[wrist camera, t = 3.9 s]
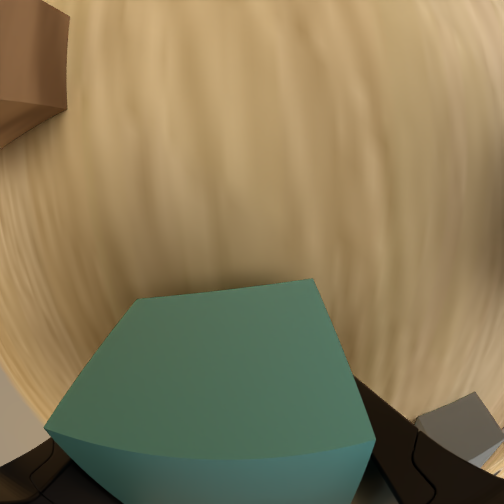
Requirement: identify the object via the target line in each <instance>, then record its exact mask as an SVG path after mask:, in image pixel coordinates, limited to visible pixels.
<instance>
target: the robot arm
mask: <svg viewBox="0 0 504 504" xmlns="http://www.w3.org/2000/svg"><path fill="white" fill-rule="evenodd" d="M353 377H354V380H355V382H356V385H357V388H358V390H359V393H360V396H361V398H362V401H363V404H364V406H365V409H366V412H367V415H368V418H369V420H370V423H371V426H372V429H373V432H374V435H375V438H376V441H375V444H374V447H373V450H372V453H371V456H370V458H369V461H368V464H367V466H366V469H365V472H364V474H363V477H362V479H361V481H360V484H359V486H358V488H357V491H356V493H355V495H354V497H353V500H352V502H351V504H504V479H503V478H500V477H497V476H495V475H493V474H491V473H489V472H487V471H485V470H483V469H481V468H479V467H477V466H475V465H473V464H471V463H469V462H468V461H466V460H464V459H462V458H460V457H459V456H457V455H455V454H454V453H452V452H450V451H449V450H447V449H446V448H444V447H443V446H441V445H440V444H438V443H437V442H436V441H434V440H433V439H432V438H430V437H429V436H428V435H426V434H425V433H424V432H423V431H421V430H420V431H419V428H417V427H416V426H415V425H414V424H412V423H411V422H410V421H409V420H407V419H406V418H405V417H404V416H402V415H401V414H400V413H399V412H397V411H396V410H395V409H394V408H393V407H391V406H390V405H389V404H388V403H386V402H385V401H384V400H383V399H382V398H380V397H379V396H378V395H377V394H376V393H374V392H373V391H372V390H371V389H369V388H368V387H367V386H366V385H365V384H363V383H362V382H361V381H360V380H359V379H358V378H356V377H355V376H354V375H353ZM0 504H124V503H122V502H121V501H120V500H118V499H117V498H116V497H115V496H113V495H112V494H111V493H109V492H108V491H107V490H106V489H105V488H103V487H102V486H101V485H100V484H99V483H97V482H96V481H95V480H94V479H93V478H92V477H91V476H89V475H88V474H87V473H86V472H85V471H84V470H83V469H82V468H81V467H80V466H79V465H78V464H77V463H76V462H75V461H74V460H73V459H72V458H71V457H70V456H69V455H68V454H67V453H66V452H65V451H64V450H63V449H62V448H61V447H60V446H59V445H58V444H57V443H56V442H55V441H54V439H53V438H52V437H50V438H49V439H48V440H46V441H45V442H43V443H42V444H40V445H39V446H37V447H36V448H34V449H32V450H31V451H29V452H27V453H25V454H24V455H22V456H20V457H18V458H16V459H14V460H12V461H11V462H9V463H7V464H5V465H3V466H1V467H0Z"/></svg>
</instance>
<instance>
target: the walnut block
mask: <svg viewBox="0 0 504 504" xmlns="http://www.w3.org/2000/svg"><path fill="white" fill-rule="evenodd" d="M69 20H70V16H68V15H66V14H65V13H63V12H61V11H60V10H58V9H56V8H54V7H53V6H51V5H49V4H47V3H46V2H44V1H42V0H0V149H1V148H3V147H4V146H6V145H7V144H9V143H10V142H12V141H13V140H15V139H16V138H18V137H19V136H21V135H22V134H24V133H25V132H27V131H29V130H30V129H32V128H34V127H35V126H37V125H39V124H40V123H42V122H44V121H46V120H47V119H49V118H51V117H53V116H55V115H57V114H58V113H60V112H62V111H64V110H66V109H67V91H66V64H67V42H68V30H69Z"/></svg>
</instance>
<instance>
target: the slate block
mask: <svg viewBox="0 0 504 504" xmlns="http://www.w3.org/2000/svg"><path fill="white" fill-rule="evenodd" d="M415 426H416V427H417V428H419V431H420V430H421V431H423V432H424V433H425V434H426V435H428V436H429V437H430V438H432V439H433V440H434V441H436V442H437V443H438V444H440V445H441V446H443V447H444V448H446V449H447V450H449V451H450V452H452V453H454V454H455V455H457V456H459V457H460V458H462V459H464V460H466V461H468V462H469V463H471V464H473V465H475V466H477V467H479V468H481V467H482V465H483V464H484V463H485V462H486V461H487V460H488V459H489V458H490V456H491V455H492V454H493V453H494V452H495V451H496V449H497V448H498V447H499V446H500V444H501V443H502V442H503V441H504V433H503V432H502V430H501V429H500V427H499V426H498V424H497V423H496V421H495V420H494V418H493V417H492V415H491V414H490V412H489V411H488V409H487V408H486V406H485V405H484V404H483V402H482V401H481V399H480V398H479V396H478V395H477V394H476V392H473V393H471V394H469V395H467V396H465V397H463V398H461V399H459V400H457V401H455V402H452V403H450V404H448V405H445V406H443V407H441V408H438V409H436V410H433V411H431V412H428V413H426V414H423V415H420V416H418V418H417V420H416V423H415Z"/></svg>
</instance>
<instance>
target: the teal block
mask: <svg viewBox="0 0 504 504" xmlns="http://www.w3.org/2000/svg"><path fill="white" fill-rule="evenodd" d="M44 429H45V430H46V431H47V432H48V434H49V435H50V436H51V437H52V438H53V439H54V441H55V442H56V443H57V444H58V445H59V446H60V447H61V448H62V449H63V450H64V451H65V452H66V453H67V454H68V455H69V456H70V457H71V458H72V459H73V460H74V461H75V462H76V463H77V464H78V465H79V466H80V467H81V468H82V469H83V470H84V471H85V472H86V473H87V474H88V475H89V476H91V477H92V478H93V479H94V480H95V481H96V482H97V483H99V484H100V485H101V486H102V487H103V488H105V489H106V490H107V491H108V492H109V493H111V494H112V495H113V496H115V497H116V498H117V499H118V500H120V501H121V502H122V503H124V504H351V502H352V500H353V497H354V495H355V493H356V491H357V488H358V486H359V484H360V481H361V479H362V477H363V474H364V472H365V469H366V466H367V464H368V461H369V458H370V456H371V453H372V450H373V447H374V444H375V441H376V438H375V435H374V432H373V429H372V426H371V423H370V420H369V418H368V415H367V412H366V409H365V406H364V404H363V401H362V398H361V396H360V393H359V390H358V388H357V385H356V382H355V380H354V377H353V374H352V372H351V369H350V367H349V364H348V362H347V359H346V356H345V354H344V351H343V349H342V346H341V344H340V341H339V339H338V337H337V334H336V332H335V329H334V327H333V324H332V322H331V320H330V317H329V315H328V312H327V310H326V308H325V305H324V303H323V301H322V298H321V296H320V294H319V291H318V289H317V287H316V284H315V282H314V280H313V278H312V279H305V280H298V281H291V282H284V283H276V284H269V285H261V286H253V287H245V288H237V289H229V290H220V291H211V292H202V293H193V294H184V295H174V296H164V297H153V298H142V299H137V300H136V301H135V302H134V303H133V305H132V306H131V307H130V308H129V310H128V311H127V312H126V313H125V315H124V316H123V317H122V318H121V320H120V321H119V322H118V324H117V325H116V326H115V327H114V329H113V330H112V331H111V333H110V334H109V335H108V336H107V338H106V339H105V340H104V342H103V343H102V344H101V346H100V347H99V348H98V350H97V351H96V352H95V354H94V355H93V356H92V358H91V359H90V361H89V362H88V363H87V365H86V366H85V367H84V369H83V370H82V372H81V373H80V374H79V376H78V377H77V379H76V380H75V381H74V383H73V384H72V386H71V387H70V389H69V390H68V391H67V393H66V394H65V396H64V397H63V399H62V400H61V402H60V403H59V405H58V406H57V408H56V409H55V411H54V412H53V414H52V415H51V417H50V418H49V420H48V421H47V423H46V425H45V426H44Z"/></svg>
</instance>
